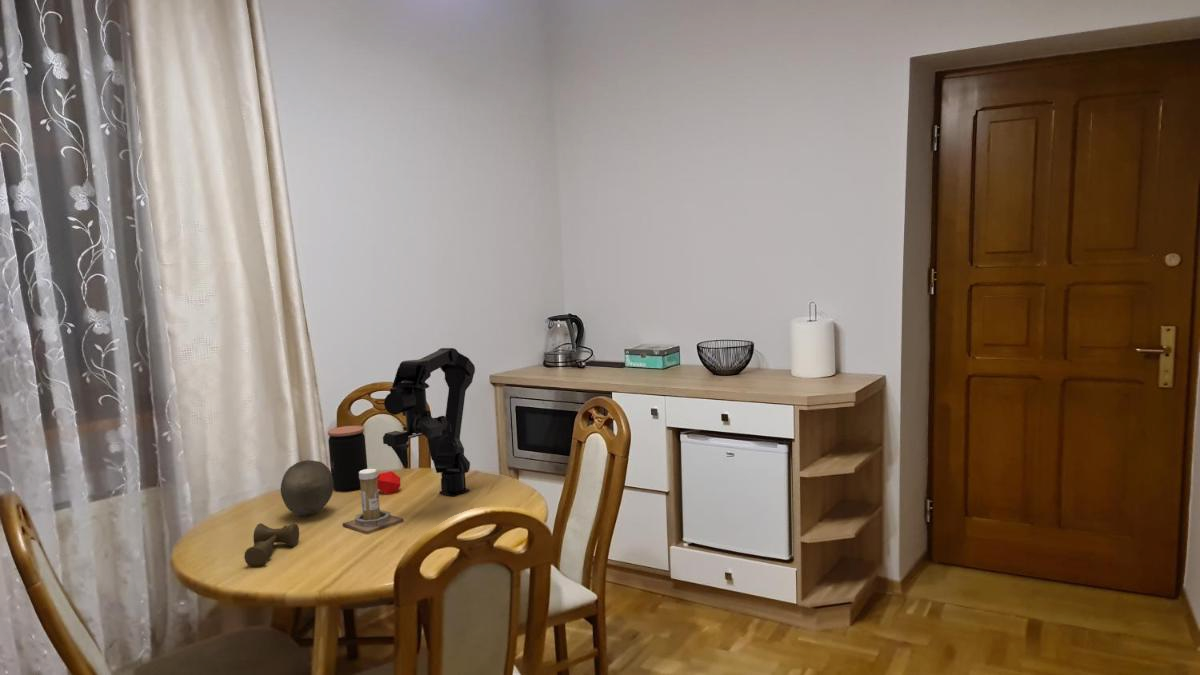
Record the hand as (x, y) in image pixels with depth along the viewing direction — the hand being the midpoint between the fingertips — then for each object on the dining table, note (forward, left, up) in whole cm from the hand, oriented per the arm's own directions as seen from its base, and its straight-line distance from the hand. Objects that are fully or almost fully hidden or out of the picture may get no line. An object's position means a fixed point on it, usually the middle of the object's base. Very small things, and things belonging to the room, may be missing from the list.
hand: (420, 464), depth 215 cm
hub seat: (+14, -3, -13) cm, 19 cm away
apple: (-6, -24, -13) cm, 28 cm away
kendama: (+39, -8, -14) cm, 42 cm away
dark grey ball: (+19, -25, -13) cm, 34 cm away
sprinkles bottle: (+14, -4, -12) cm, 19 cm away
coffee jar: (-3, -39, -13) cm, 41 cm away
